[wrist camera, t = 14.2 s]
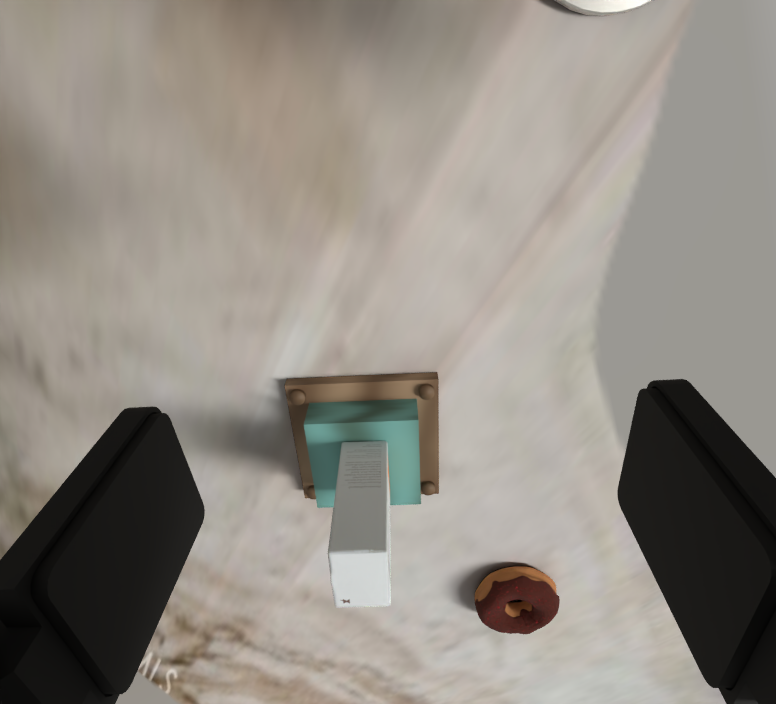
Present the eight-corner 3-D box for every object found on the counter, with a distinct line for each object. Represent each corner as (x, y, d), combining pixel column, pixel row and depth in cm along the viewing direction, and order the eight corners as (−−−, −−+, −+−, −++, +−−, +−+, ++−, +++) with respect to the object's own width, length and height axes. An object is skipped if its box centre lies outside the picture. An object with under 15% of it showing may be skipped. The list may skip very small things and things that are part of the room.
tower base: (437, 372, 45) (441, 399, 41) (437, 485, 52) (441, 518, 48) (286, 378, 45) (277, 406, 41) (306, 489, 52) (300, 523, 48)
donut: (561, 601, 61) (571, 633, 58) (486, 619, 63) (492, 650, 60) (543, 550, 57) (553, 581, 53) (463, 571, 59) (467, 601, 55)
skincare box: (391, 489, 46) (391, 608, 35) (346, 490, 46) (333, 610, 36) (388, 438, 43) (388, 552, 33) (340, 439, 43) (324, 553, 33)
